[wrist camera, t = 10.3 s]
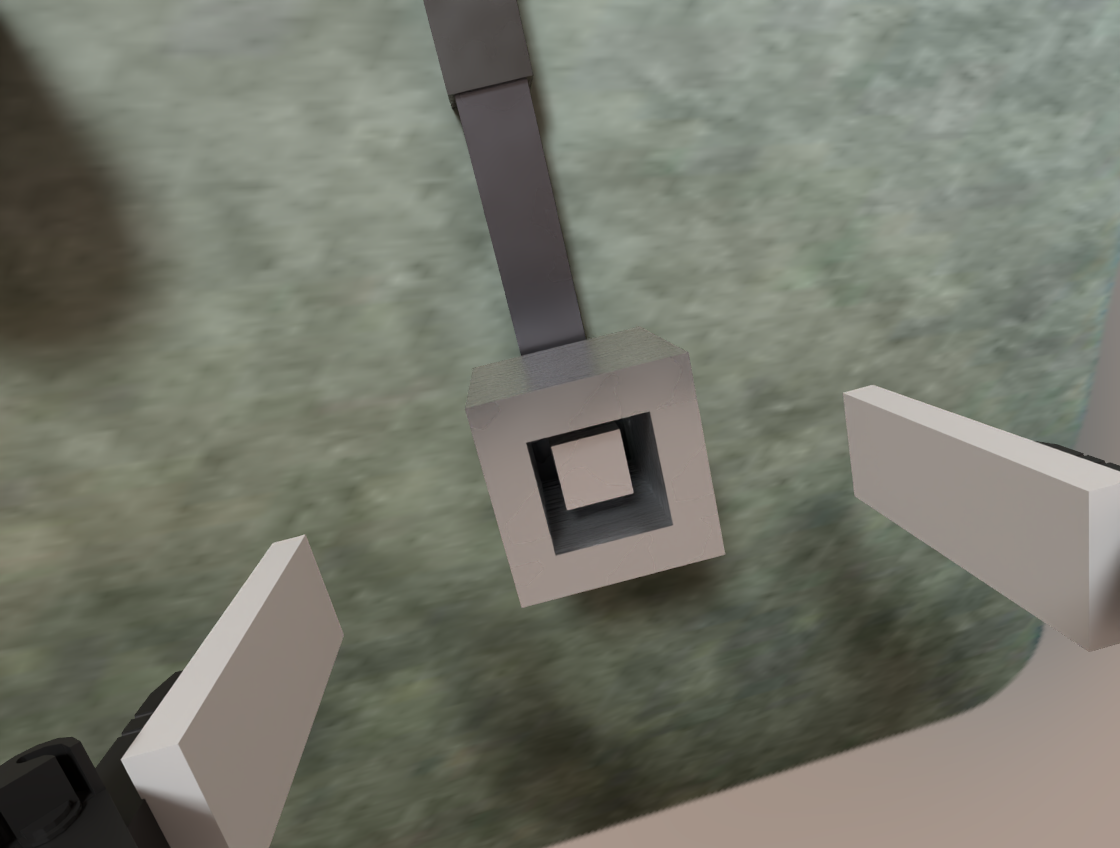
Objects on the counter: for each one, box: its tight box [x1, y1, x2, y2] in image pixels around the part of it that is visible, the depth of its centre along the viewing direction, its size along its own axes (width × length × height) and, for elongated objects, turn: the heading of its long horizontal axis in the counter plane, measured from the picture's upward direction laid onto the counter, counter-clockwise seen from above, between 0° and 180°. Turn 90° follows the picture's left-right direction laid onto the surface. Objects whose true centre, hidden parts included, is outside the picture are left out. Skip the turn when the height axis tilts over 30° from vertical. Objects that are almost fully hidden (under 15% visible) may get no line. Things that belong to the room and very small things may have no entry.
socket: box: [465, 326, 725, 608], centre depth 21 cm, size 6×6×6 cm
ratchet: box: [423, 0, 634, 510], centre depth 20 cm, size 22×5×8 cm, turn 13°
